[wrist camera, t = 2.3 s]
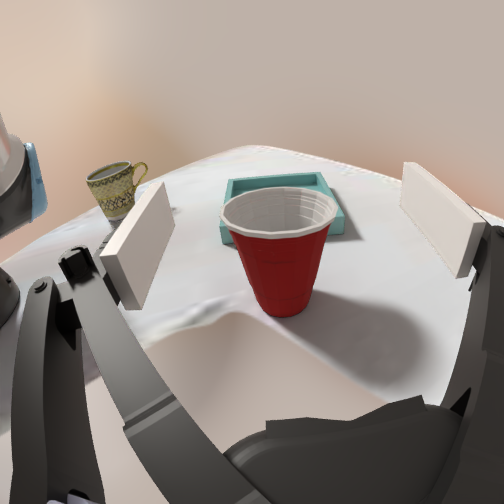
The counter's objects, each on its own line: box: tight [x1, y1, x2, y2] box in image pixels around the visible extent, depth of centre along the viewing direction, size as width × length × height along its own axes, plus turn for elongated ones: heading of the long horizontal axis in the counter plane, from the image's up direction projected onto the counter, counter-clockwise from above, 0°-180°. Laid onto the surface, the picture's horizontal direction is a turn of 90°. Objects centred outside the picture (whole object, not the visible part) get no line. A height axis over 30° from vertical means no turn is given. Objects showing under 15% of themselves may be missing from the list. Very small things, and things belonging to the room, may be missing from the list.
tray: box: [219, 172, 345, 244], centre depth 49 cm, size 18×18×3 cm
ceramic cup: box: [86, 161, 148, 221], centre depth 55 cm, size 13×10×10 cm
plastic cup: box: [219, 187, 338, 317], centre depth 30 cm, size 11×11×12 cm
